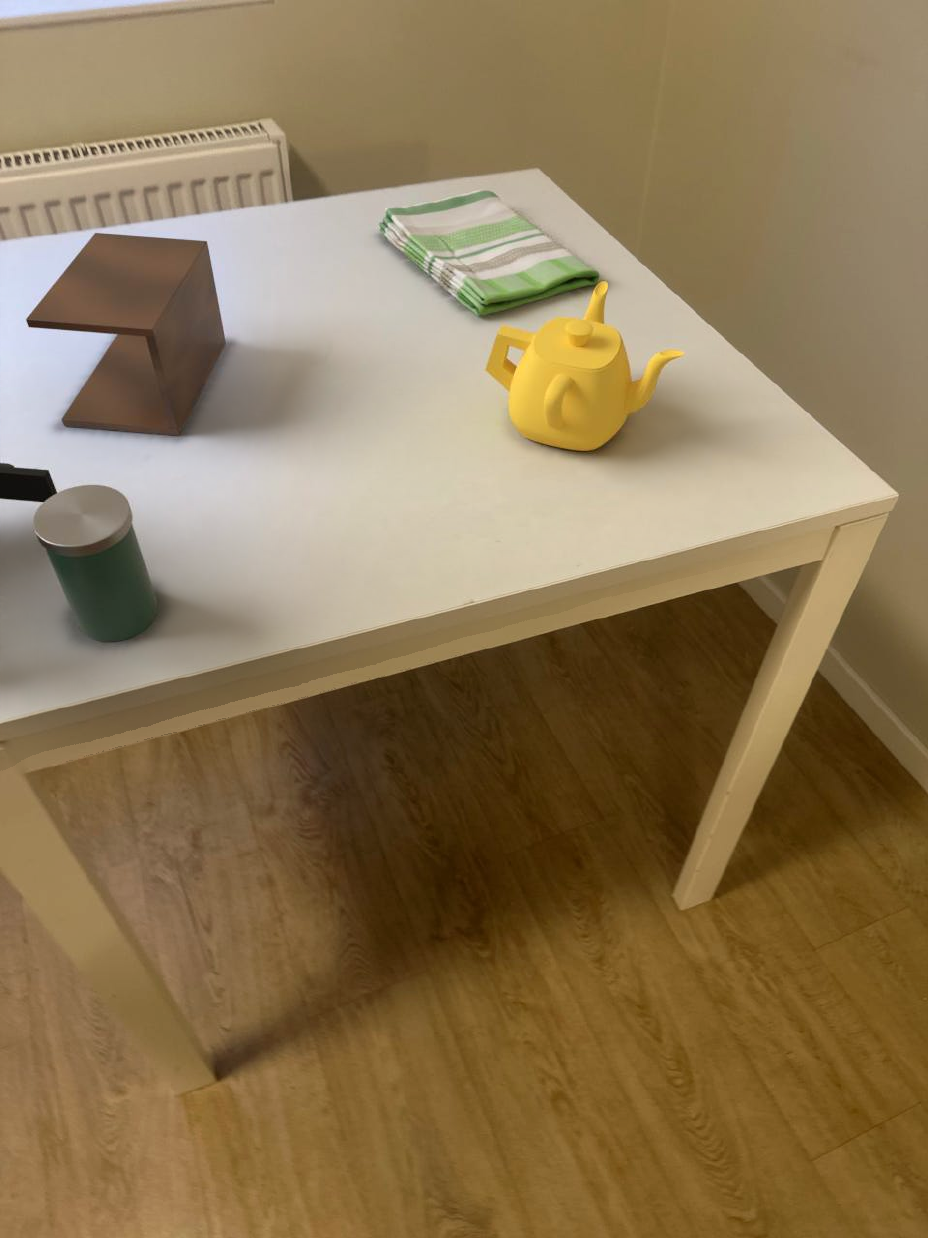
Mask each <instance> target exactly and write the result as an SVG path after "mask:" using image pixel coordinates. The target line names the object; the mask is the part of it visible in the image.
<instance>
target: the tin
mask: <svg viewBox="0 0 928 1238" xmlns="http://www.w3.org/2000/svg"><path fill="white" fill-rule="evenodd" d="M36 509H37V510H36V511H35V513H34V515H33V518H32V529H33V532H34V534H35V535H36V536H35V537H36V539H37V541H38V542H39V544H40V545H41V546H42V547H43V548H44V549H45V552H46V554H47V557H48V559H49V561H50V564H51V566H52V568H53V571H54V573H55V576H56V577H57V580H58V583H59V585H60V587H61V589H62V592H63V594H64V597H65V598H66V601H67V604H68V606H69V608H70V610H71V613H72V616H73V618H74V620H75V622H76V624H77V627H78V629H79V630H80V632H81V633H82V634H83V635H85V636H86V637H88V638H90V639H92V640H95V641H98V642H112V643H113V642H119V641H123V640H127V639H130V638H133V637H135V636H137V635H138V634H140V633H142V632H143V631H145V630H146V629H147V628H148V627H149V626H150V625H151V624H152V623H153V621H154V620H155V618H156V616H157V613H158V607H159V604H158V600H157V597H156V593H155V590H154V587H153V584H152V581H151V578H150V574H149V572H148V569H147V565H146V563H145V559H144V555H143V553H142V549H141V547H140V544H139V540H138V537H137V534H136V530H135V528H134V525H133V511H132V509H131V505H130V502H129V500H128V498H127V497H126V496H125V495H124V494H123V493H122V492H120V491H119V490H117V489H115V488H113V487H110V486H106V485H102V484H84V485H83V484H81V485H78V486H73V487H69V488H66V489H64V490H60V491H59V492H57V494H55V495H53V496H51V497H50V498H48V499H47V500H46V501H45V502H41V504H40V505H39V506H38V508H36Z"/></svg>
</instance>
